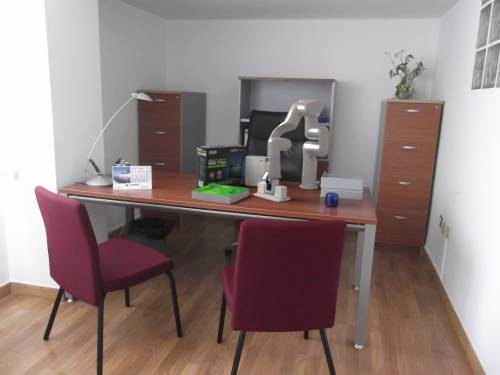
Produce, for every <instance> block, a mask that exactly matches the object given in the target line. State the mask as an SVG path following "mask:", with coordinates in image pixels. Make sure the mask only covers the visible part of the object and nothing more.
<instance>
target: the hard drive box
mask: <svg viewBox="0 0 500 375" xmlns="http://www.w3.org/2000/svg"><path fill="white" fill-rule="evenodd" d="M266 162H267V156H264V155H263V156H262V155H246V156H245V183H244V185H245V186H251V187H258V182H265V181H264V179H263V178H264V170H265V164H266Z"/></svg>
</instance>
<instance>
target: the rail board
mask: <svg viewBox="0 0 500 375" xmlns="http://www.w3.org/2000/svg"><path fill="white" fill-rule="evenodd" d="M287 189H288V187H287V186H285V185H280V184H279V186H275V193H269V192H265V190H266V182H258V186H257V192H256V193H253V197H258V198H263V199H265V200H269V201H273V202H278V203H281V202H285V201H291V197H289V196H287V194H288V193H287V192H288V190H287Z"/></svg>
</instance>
